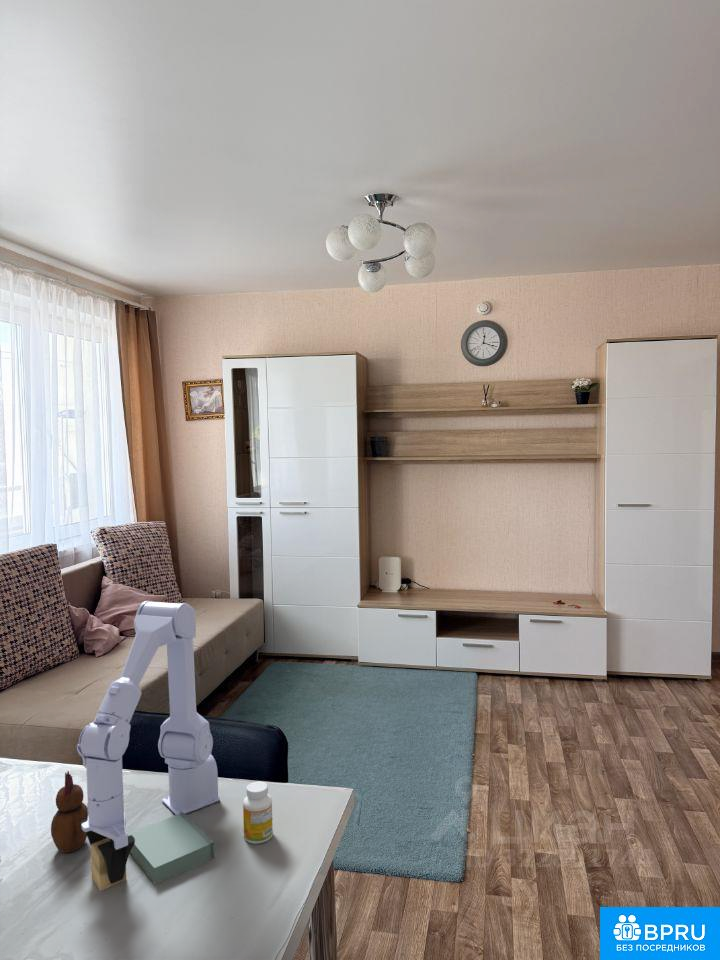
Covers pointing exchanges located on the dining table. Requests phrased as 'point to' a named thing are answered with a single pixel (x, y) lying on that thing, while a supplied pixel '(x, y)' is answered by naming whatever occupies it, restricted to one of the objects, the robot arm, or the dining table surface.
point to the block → (100, 867)
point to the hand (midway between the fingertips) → (108, 869)
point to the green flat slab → (171, 847)
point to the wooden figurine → (69, 817)
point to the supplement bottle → (257, 813)
